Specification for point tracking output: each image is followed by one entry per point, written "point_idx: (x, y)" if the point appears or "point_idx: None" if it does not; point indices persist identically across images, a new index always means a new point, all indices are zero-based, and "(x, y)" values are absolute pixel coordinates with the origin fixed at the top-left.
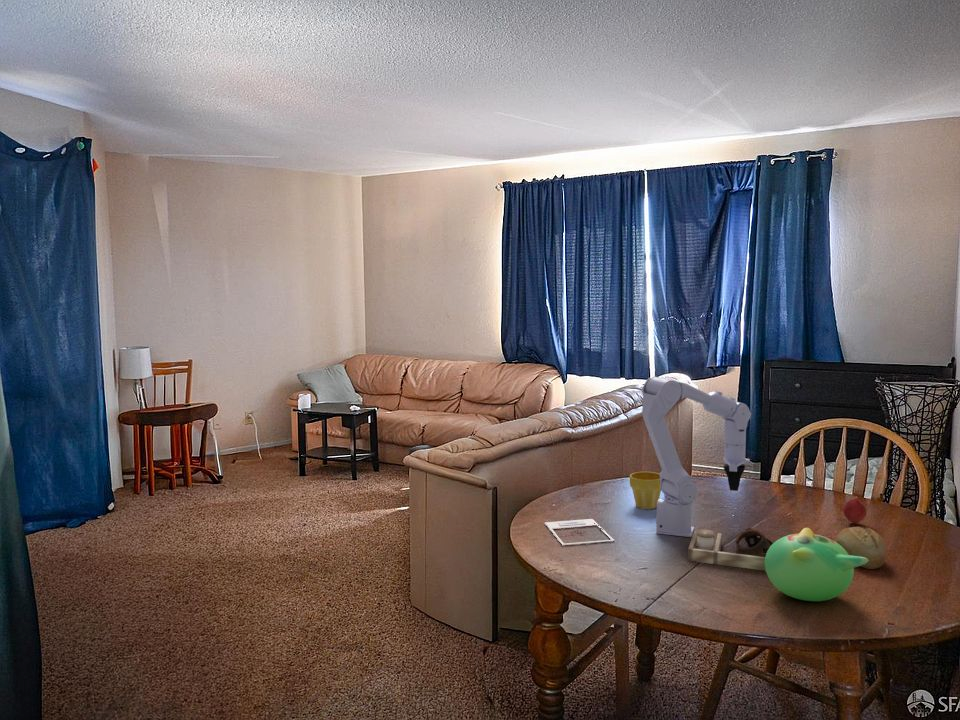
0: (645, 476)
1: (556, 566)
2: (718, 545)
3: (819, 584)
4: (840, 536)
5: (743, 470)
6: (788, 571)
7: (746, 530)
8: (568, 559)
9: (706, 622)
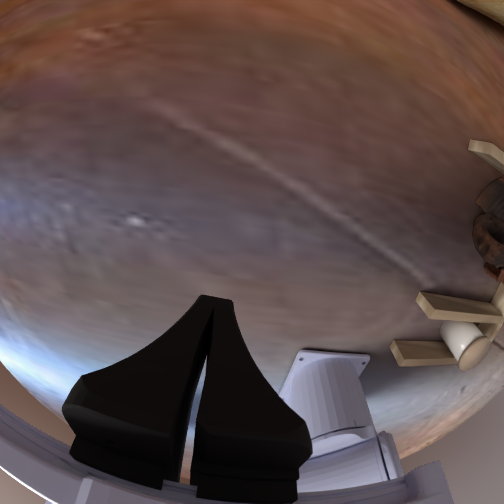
0: None
1: (421, 444)
2: (486, 316)
3: None
4: (502, 8)
5: (308, 433)
6: None
7: (499, 264)
8: (408, 445)
9: None
